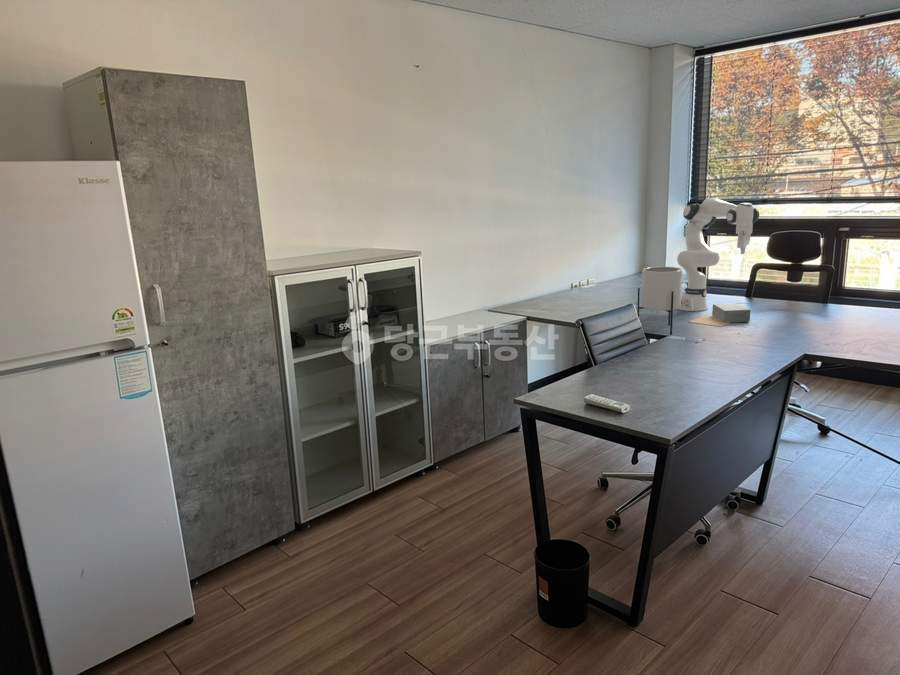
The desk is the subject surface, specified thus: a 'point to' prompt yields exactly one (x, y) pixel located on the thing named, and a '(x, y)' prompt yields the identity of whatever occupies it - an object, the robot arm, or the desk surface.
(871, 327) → the desk surface
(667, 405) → the desk surface
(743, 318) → the hard drive box
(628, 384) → the desk surface
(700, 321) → the cork mat
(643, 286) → the plant pot with stand
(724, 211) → the robot arm
